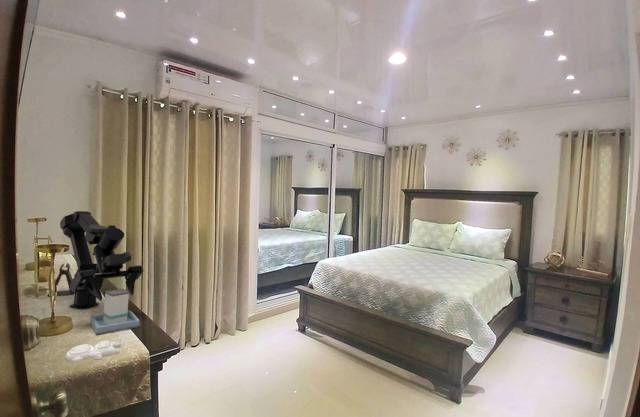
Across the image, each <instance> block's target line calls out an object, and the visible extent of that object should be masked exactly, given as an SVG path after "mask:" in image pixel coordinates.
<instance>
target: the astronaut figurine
mask: <svg viewBox="0 0 640 417" xmlns="http://www.w3.org/2000/svg"><path fill="white" fill-rule="evenodd" d="M120 346H122V343H121V342H119V341H115V340H114V341H110V340H109V339H106V340H102V341H98V343H96V344H95V345H94V346H93V345H92V344H87V343H84V344H79V345H76V346H74V347H72V348H71V349H69V350H68V351H67V352H66V354H65V356H64V360H66V361H68V362H72V363H79V362H82V361H83V360H84V361H85V360H88V359H90V358H91V359H93V360H99V361H100V360H103V357H108V356H113V354H114V355H118V354H120V349H119V348H121V347H120ZM117 347H119V348H117ZM117 353H118V354H117Z"/></svg>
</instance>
